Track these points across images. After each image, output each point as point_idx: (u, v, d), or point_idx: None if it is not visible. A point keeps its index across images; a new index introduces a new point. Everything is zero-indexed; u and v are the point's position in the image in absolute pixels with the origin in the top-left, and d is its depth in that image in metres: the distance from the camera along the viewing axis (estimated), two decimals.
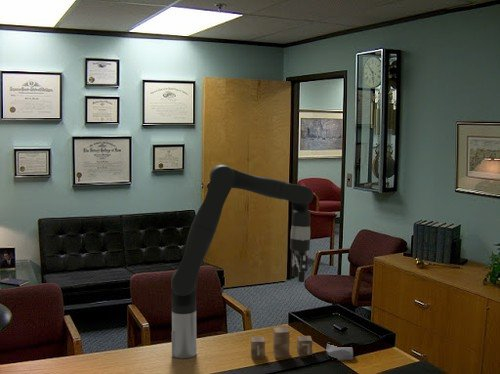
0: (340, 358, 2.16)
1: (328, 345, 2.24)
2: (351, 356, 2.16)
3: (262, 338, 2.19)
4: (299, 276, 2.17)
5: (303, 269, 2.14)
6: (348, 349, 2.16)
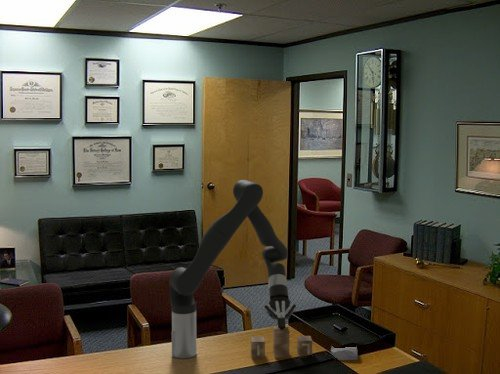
0: (344, 358, 2.16)
1: None
2: (355, 357, 2.15)
3: (262, 338, 2.19)
4: (283, 322, 2.20)
5: None
6: (353, 349, 2.16)
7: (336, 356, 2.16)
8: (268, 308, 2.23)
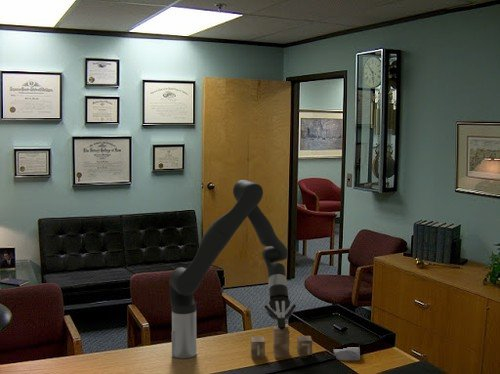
0: (346, 358, 2.15)
1: None
2: (358, 357, 2.15)
3: (262, 338, 2.19)
4: (283, 322, 2.20)
5: None
6: (355, 350, 2.16)
7: (338, 356, 2.16)
8: (268, 308, 2.23)
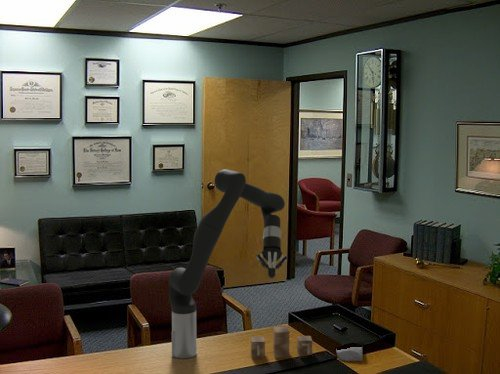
0: (349, 359, 2.15)
1: None
2: (360, 357, 2.15)
3: (262, 338, 2.19)
4: (273, 272, 2.34)
5: None
6: (357, 350, 2.15)
7: (341, 356, 2.16)
8: (260, 257, 2.36)
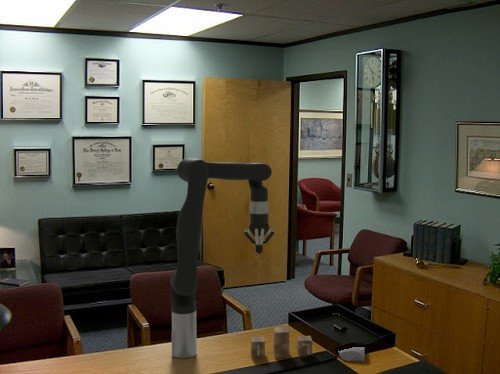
0: (351, 359, 2.15)
1: None
2: (362, 358, 2.14)
3: (262, 338, 2.19)
4: (260, 248, 2.36)
5: None
6: (360, 351, 2.15)
7: (343, 356, 2.16)
8: (247, 235, 2.35)
